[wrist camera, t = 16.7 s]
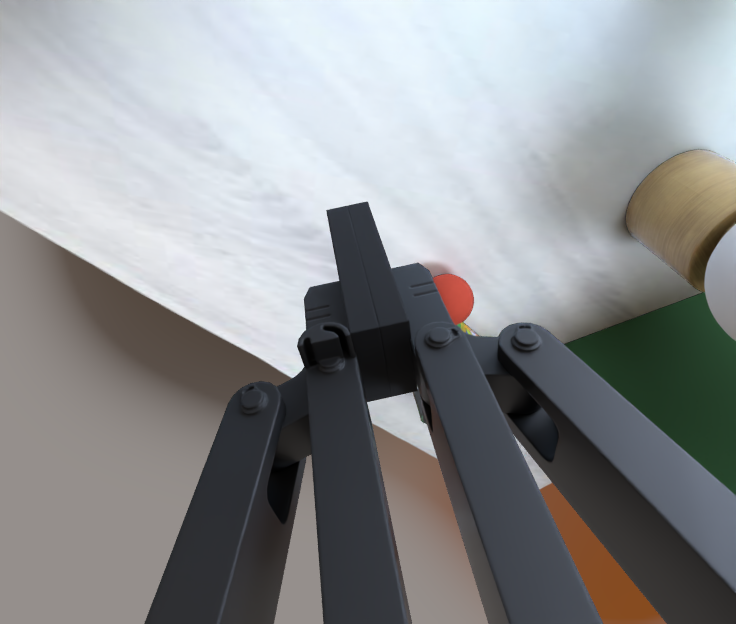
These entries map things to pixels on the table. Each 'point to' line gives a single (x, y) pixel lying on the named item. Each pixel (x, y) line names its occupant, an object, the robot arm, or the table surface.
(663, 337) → the binder
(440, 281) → the ball
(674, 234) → the lamp
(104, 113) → the table surface
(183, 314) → the table surface
